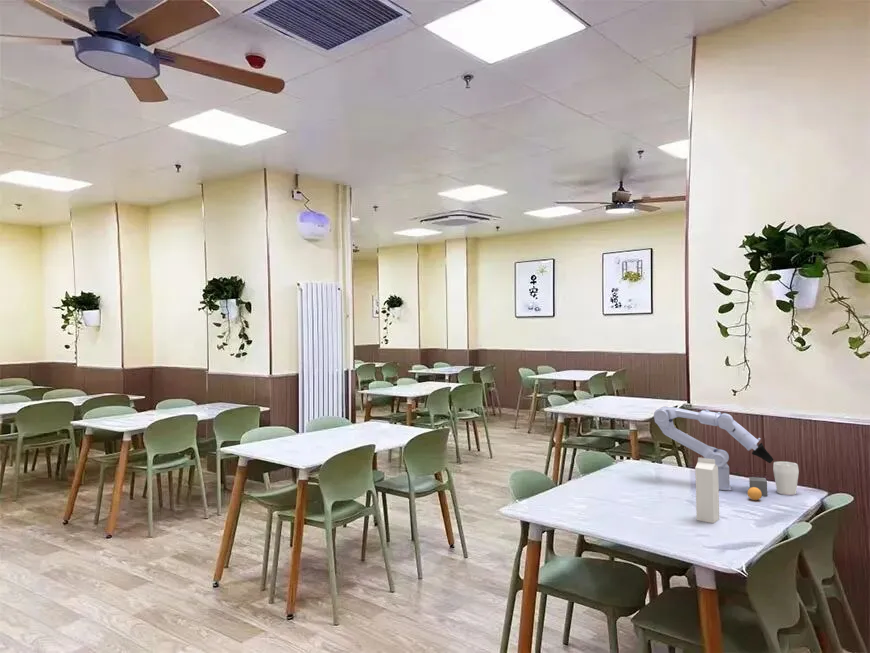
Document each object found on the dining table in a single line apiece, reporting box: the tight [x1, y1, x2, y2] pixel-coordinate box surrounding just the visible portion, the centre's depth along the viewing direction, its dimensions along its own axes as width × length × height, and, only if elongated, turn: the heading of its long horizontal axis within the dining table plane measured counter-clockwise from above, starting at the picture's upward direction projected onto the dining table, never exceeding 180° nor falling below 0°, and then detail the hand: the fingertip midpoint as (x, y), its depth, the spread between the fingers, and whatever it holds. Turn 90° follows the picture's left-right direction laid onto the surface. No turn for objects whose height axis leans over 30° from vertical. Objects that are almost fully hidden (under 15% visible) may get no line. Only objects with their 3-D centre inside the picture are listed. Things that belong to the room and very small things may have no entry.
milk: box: [694, 457, 720, 524], centre depth 217 cm, size 6×6×22 cm
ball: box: [747, 487, 763, 501], centre depth 239 cm, size 5×5×5 cm
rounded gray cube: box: [748, 476, 768, 497], centre depth 247 cm, size 6×6×6 cm
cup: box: [772, 460, 800, 496], centre depth 248 cm, size 9×9×12 cm
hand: (771, 460), depth 247 cm, fingers open, 7 cm apart
